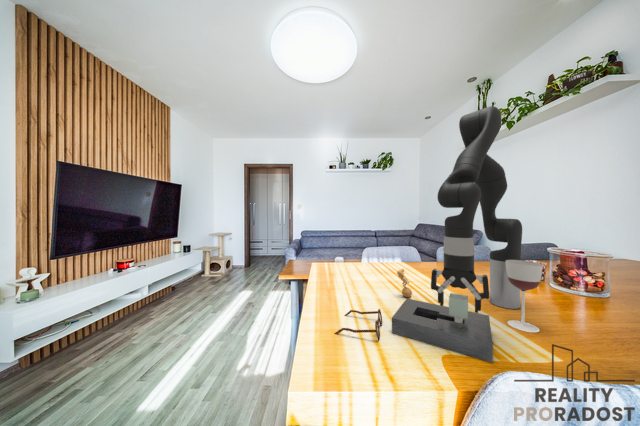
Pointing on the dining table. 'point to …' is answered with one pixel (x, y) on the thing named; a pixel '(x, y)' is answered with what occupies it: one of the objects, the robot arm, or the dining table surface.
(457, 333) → the keyhole plate
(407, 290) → the figurine
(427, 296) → the dining table surface
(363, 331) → the glasses
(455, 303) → the keyhole peg
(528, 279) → the wineglass
